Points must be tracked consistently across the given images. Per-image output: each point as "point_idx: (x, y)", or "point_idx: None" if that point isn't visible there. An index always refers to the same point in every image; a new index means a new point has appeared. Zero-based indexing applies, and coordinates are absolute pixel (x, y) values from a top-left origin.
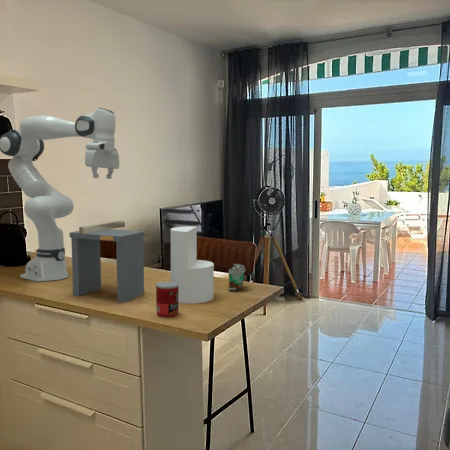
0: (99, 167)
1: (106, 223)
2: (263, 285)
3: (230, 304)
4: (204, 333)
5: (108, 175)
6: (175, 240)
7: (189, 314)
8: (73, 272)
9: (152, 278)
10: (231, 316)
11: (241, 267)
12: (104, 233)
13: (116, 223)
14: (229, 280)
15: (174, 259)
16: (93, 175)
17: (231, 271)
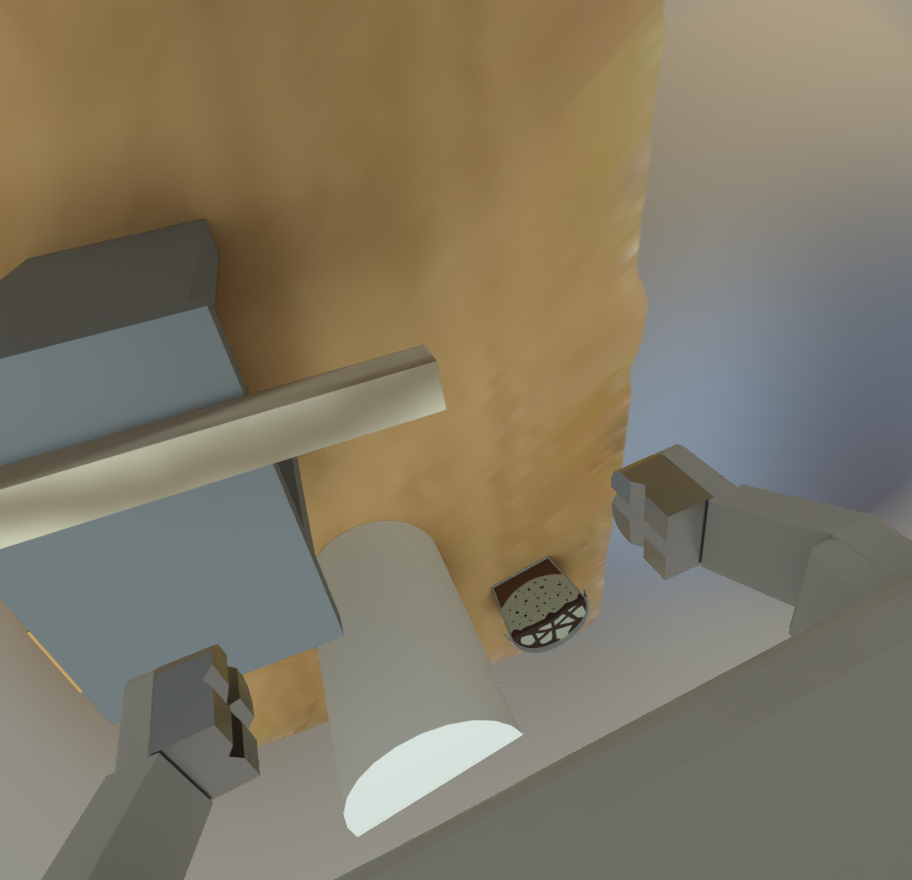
0: (475, 817)
1: (235, 450)
2: (593, 593)
3: None
4: None
5: (653, 549)
6: (338, 763)
7: (246, 676)
8: None
9: (496, 293)
10: (310, 723)
11: (572, 625)
12: (93, 590)
13: (338, 438)
14: (502, 614)
15: (327, 687)
16: (126, 731)
17: (511, 643)
